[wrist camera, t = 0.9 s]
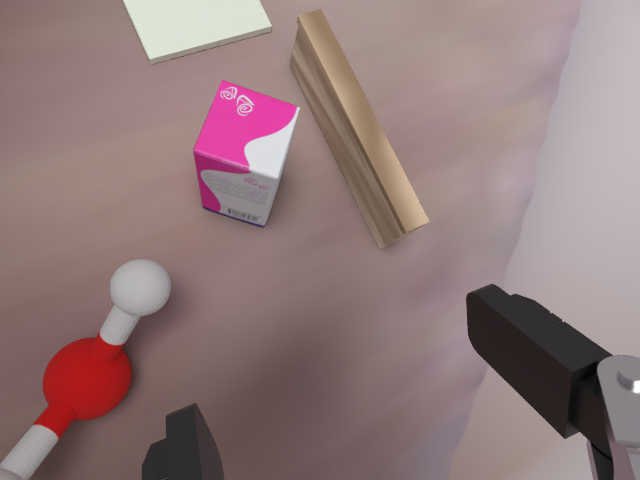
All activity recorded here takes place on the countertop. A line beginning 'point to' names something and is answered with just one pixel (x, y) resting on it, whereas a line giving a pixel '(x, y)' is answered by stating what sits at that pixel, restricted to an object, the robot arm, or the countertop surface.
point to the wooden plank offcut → (354, 132)
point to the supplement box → (243, 152)
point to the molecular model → (91, 367)
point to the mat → (193, 24)
